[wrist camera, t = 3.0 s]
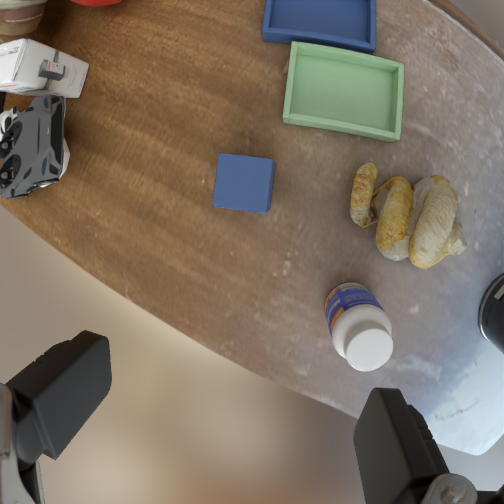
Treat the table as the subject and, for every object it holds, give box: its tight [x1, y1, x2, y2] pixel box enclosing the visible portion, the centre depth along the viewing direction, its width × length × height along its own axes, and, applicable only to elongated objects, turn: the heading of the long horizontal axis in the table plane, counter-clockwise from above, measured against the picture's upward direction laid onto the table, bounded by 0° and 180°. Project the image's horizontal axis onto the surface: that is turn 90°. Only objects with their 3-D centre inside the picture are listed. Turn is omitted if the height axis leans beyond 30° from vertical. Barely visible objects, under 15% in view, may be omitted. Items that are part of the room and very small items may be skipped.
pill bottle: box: [325, 282, 393, 371], centre depth 27 cm, size 5×5×10 cm
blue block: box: [212, 153, 276, 214], centre depth 28 cm, size 4×4×6 cm
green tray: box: [282, 41, 404, 143], centre depth 26 cm, size 11×8×2 cm
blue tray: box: [262, 0, 376, 55], centre depth 25 cm, size 11×8×2 cm
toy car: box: [0, 94, 70, 199], centre depth 28 cm, size 18×13×9 cm
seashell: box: [350, 162, 466, 269], centre depth 27 cm, size 10×6×15 cm
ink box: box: [0, 38, 89, 98], centre depth 24 cm, size 9×5×12 cm, turn 76°
